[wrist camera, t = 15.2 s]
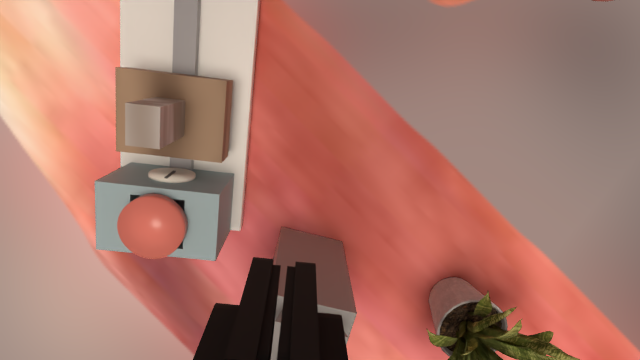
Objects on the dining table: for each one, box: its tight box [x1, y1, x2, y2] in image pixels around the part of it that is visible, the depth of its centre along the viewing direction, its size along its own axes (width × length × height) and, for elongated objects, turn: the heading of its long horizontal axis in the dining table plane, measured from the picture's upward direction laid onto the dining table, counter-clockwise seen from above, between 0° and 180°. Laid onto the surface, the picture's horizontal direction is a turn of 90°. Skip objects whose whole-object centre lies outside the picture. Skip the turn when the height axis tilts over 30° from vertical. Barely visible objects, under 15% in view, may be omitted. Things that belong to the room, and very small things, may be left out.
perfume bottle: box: [271, 227, 357, 360], centre depth 36 cm, size 7×7×18 cm
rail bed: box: [120, 0, 260, 231], centre depth 37 cm, size 12×29×4 cm, turn 173°
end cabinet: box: [95, 162, 234, 261], centre depth 37 cm, size 10×6×7 cm, turn 83°
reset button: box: [117, 194, 188, 259], centre depth 34 cm, size 5×5×3 cm
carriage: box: [116, 67, 233, 163], centre depth 33 cm, size 9×7×9 cm
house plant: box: [427, 277, 580, 360], centre depth 39 cm, size 14×14×16 cm
